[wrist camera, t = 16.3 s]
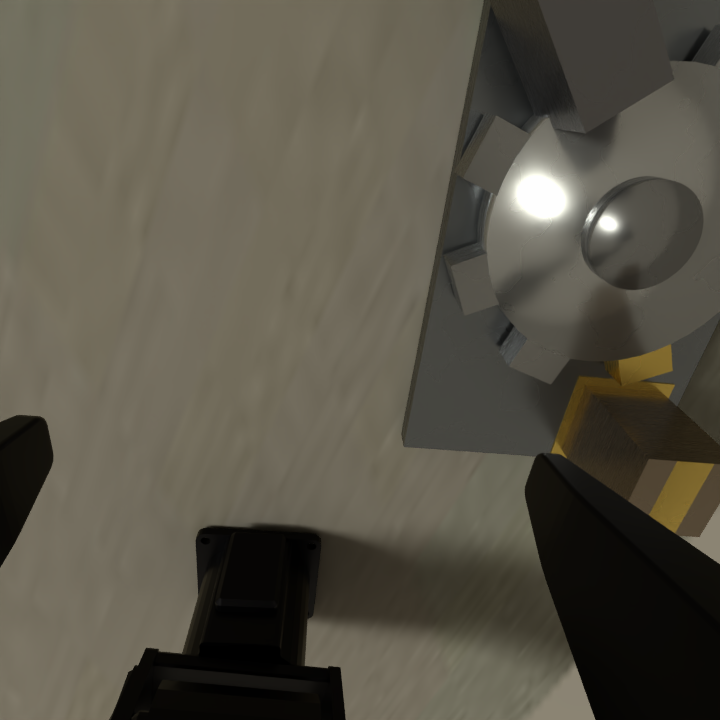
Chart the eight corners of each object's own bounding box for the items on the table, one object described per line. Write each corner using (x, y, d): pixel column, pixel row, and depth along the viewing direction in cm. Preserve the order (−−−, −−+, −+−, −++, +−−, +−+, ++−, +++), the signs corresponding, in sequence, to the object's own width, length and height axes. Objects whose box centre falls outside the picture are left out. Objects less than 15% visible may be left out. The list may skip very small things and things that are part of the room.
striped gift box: (661, 391, 22) (742, 466, 18) (632, 454, 24) (699, 536, 19) (585, 385, 22) (648, 458, 17) (561, 449, 23) (613, 531, 19)
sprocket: (816, 273, 20) (915, 310, 16) (521, 418, 22) (554, 475, 19) (707, -350, 12) (852, -525, 9) (280, -14, 15) (262, -47, 11)
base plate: (637, 451, 25) (649, 465, 24) (401, 433, 24) (403, 447, 23) (914, -138, 15) (953, -154, 14) (525, -214, 14) (538, -237, 13)
